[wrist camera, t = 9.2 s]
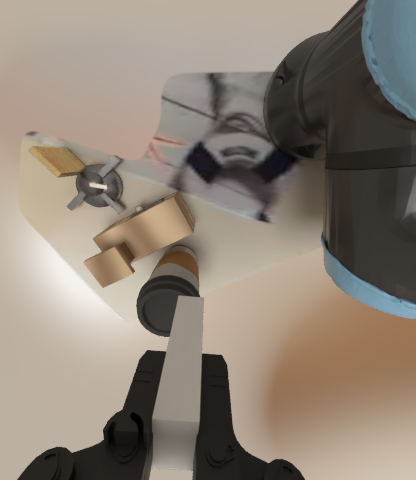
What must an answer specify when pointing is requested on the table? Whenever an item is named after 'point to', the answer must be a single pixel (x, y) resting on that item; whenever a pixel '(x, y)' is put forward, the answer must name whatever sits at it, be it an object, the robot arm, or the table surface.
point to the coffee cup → (167, 289)
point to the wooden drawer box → (139, 238)
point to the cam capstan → (84, 177)
